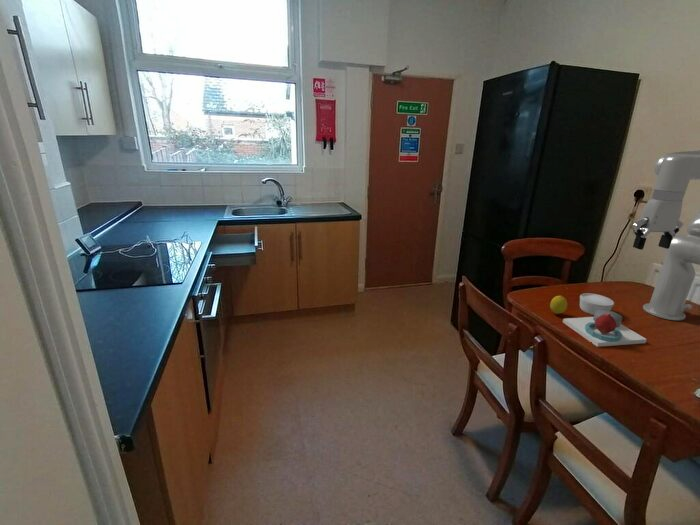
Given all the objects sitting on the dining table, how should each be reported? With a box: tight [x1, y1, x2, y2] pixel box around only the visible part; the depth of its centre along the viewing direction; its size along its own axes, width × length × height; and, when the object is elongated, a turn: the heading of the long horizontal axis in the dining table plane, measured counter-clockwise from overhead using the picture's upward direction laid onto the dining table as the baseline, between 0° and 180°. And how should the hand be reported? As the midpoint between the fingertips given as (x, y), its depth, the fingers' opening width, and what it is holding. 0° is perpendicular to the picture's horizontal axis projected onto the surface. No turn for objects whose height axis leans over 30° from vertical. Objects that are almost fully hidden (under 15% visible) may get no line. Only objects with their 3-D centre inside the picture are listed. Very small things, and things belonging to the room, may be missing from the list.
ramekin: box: [579, 292, 615, 316], centre depth 135 cm, size 11×11×5 cm
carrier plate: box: [562, 309, 648, 348], centre depth 120 cm, size 18×16×4 cm
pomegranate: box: [595, 313, 616, 334], centre depth 116 cm, size 6×6×8 cm
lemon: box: [549, 295, 568, 315], centre depth 131 cm, size 6×6×8 cm
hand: (650, 247), depth 113 cm, fingers open, 9 cm apart
